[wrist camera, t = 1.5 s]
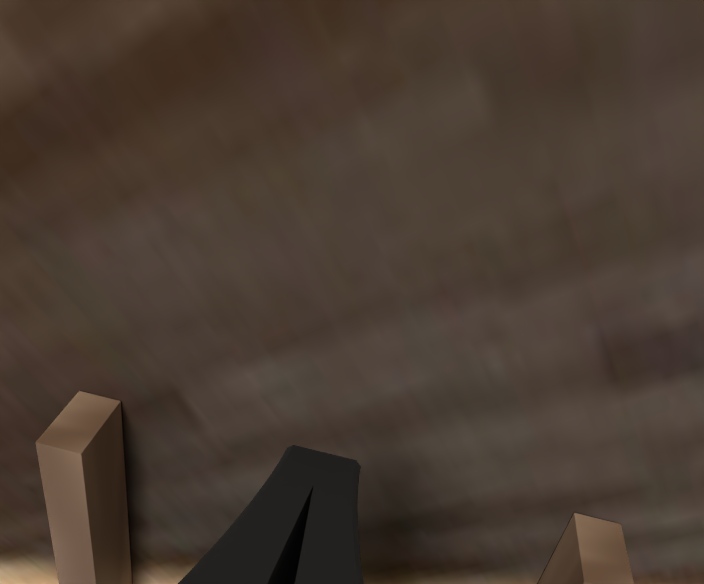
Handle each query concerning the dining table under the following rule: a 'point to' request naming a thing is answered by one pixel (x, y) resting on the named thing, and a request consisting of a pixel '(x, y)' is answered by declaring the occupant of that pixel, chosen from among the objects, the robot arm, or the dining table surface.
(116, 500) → the tray
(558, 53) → the dining table surface
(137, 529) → the dining table surface
